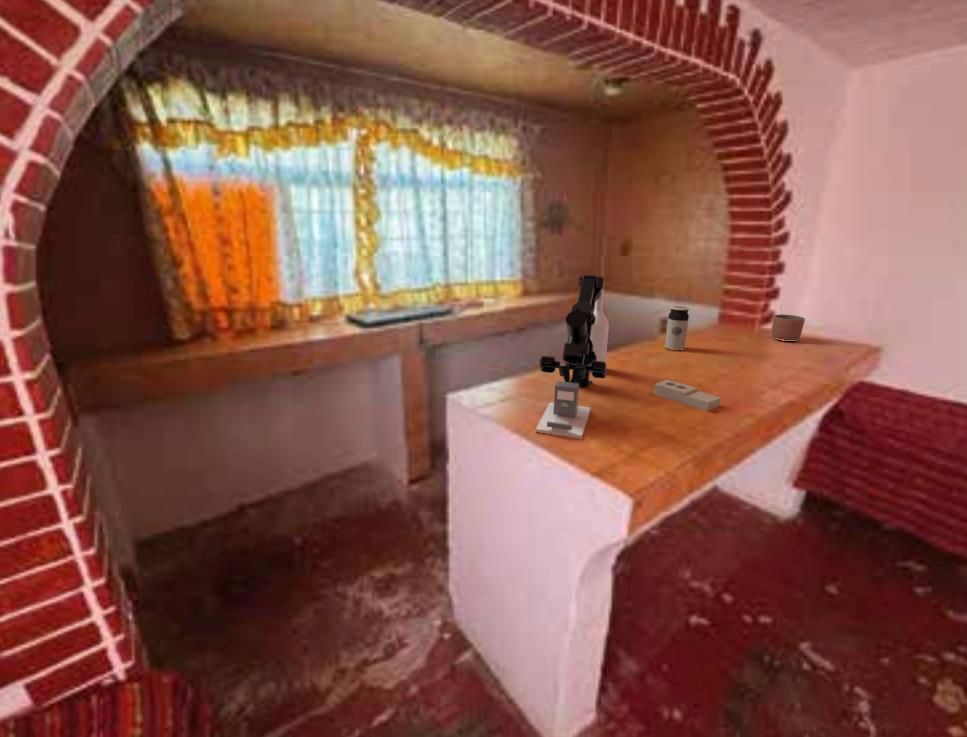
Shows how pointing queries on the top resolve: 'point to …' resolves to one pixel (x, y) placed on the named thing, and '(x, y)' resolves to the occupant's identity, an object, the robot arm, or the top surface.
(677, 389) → the grey stepped block
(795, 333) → the planter
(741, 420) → the top surface
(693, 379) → the top surface
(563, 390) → the plate
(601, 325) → the bottle
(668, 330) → the travel mug
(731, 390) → the top surface
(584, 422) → the rail plate
